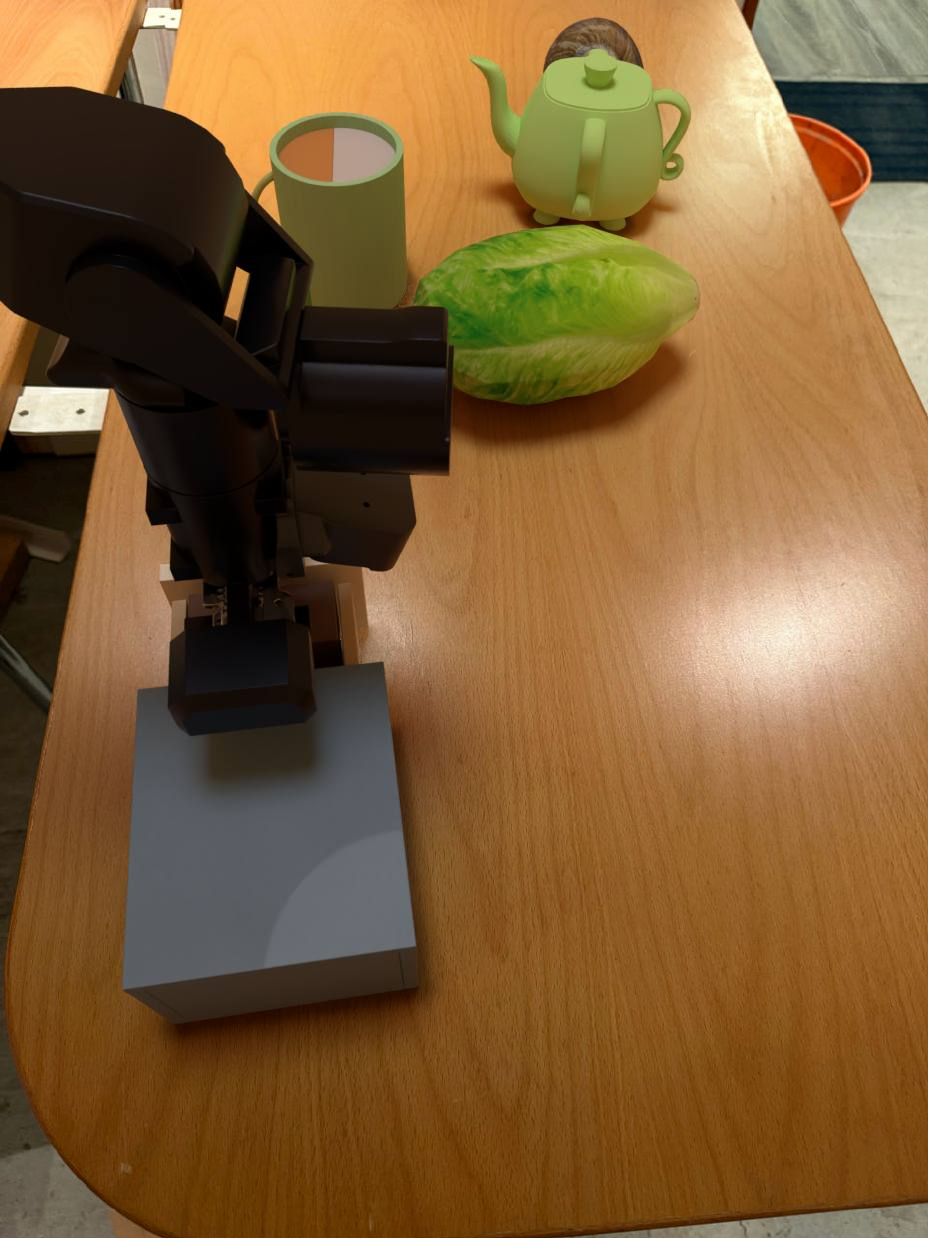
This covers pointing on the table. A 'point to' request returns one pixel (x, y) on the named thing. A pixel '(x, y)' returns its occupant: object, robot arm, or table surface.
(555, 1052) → the table surface
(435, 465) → the robot arm
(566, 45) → the seashell
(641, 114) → the teapot
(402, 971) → the cabinet
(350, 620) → the drawer
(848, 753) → the table surface
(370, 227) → the mug
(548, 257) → the lettuce
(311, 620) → the chocolate bar
